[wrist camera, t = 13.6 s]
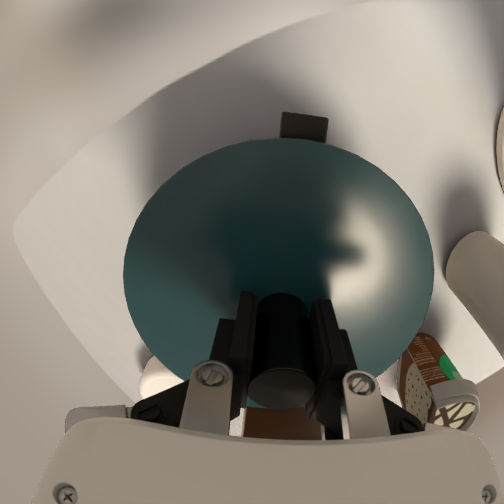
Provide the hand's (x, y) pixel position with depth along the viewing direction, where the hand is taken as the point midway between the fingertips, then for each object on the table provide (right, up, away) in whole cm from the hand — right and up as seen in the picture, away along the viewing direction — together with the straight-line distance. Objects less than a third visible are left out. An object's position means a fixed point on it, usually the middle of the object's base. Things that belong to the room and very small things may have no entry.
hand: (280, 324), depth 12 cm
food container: (+18, -8, +14) cm, 24 cm away
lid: (0, +1, +1) cm, 1 cm away
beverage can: (+19, +2, +9) cm, 21 cm away
